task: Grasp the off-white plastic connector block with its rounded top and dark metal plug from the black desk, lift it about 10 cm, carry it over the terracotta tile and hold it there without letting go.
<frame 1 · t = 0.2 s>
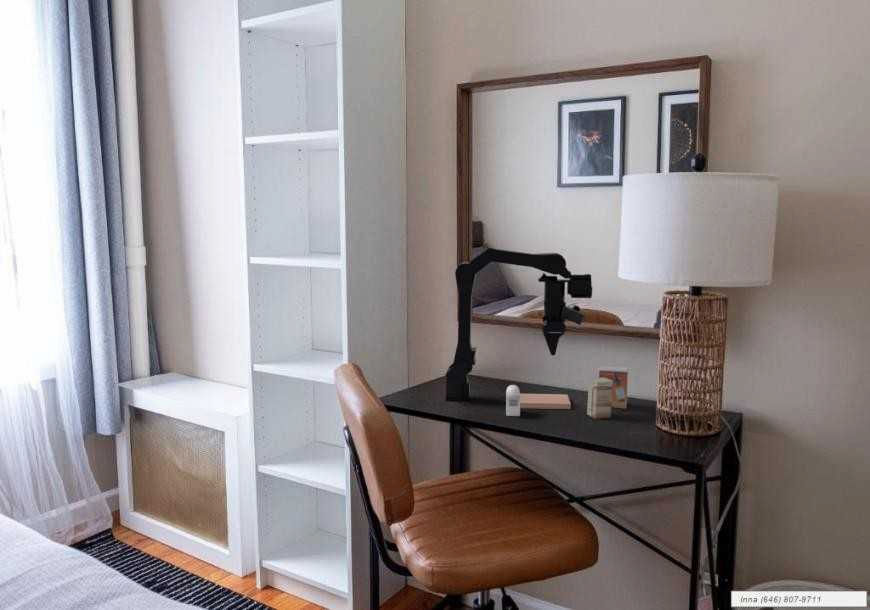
hand: (552, 351, 205), 14 cm above the table, fingers open, 9 cm apart
connector: (512, 413, 195), on the table
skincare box: (599, 416, 193), on the table
terracotta tile: (540, 403, 205), on the table
small box: (611, 405, 203), on the table
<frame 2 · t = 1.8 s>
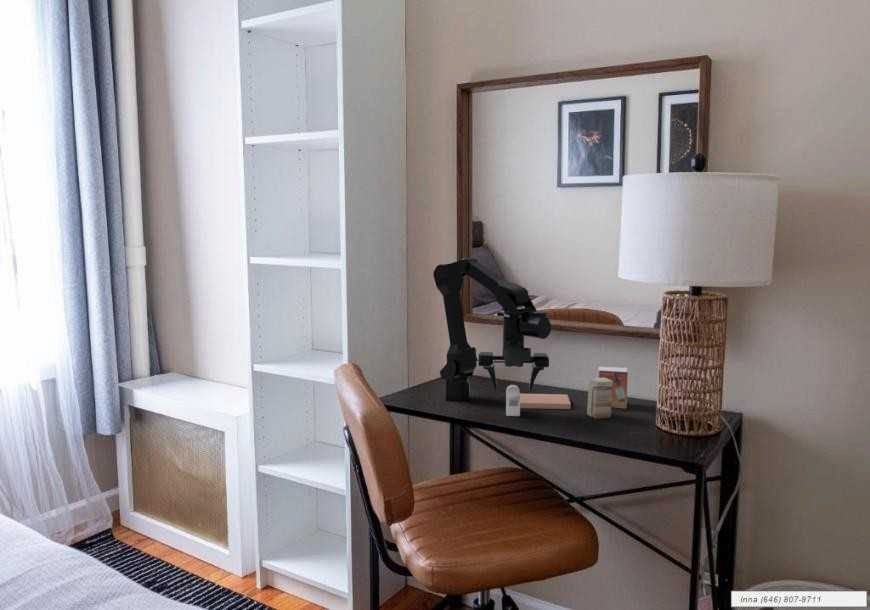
hand: (512, 390, 195), 6 cm above the table, fingers open, 9 cm apart
nothing on the table moved.
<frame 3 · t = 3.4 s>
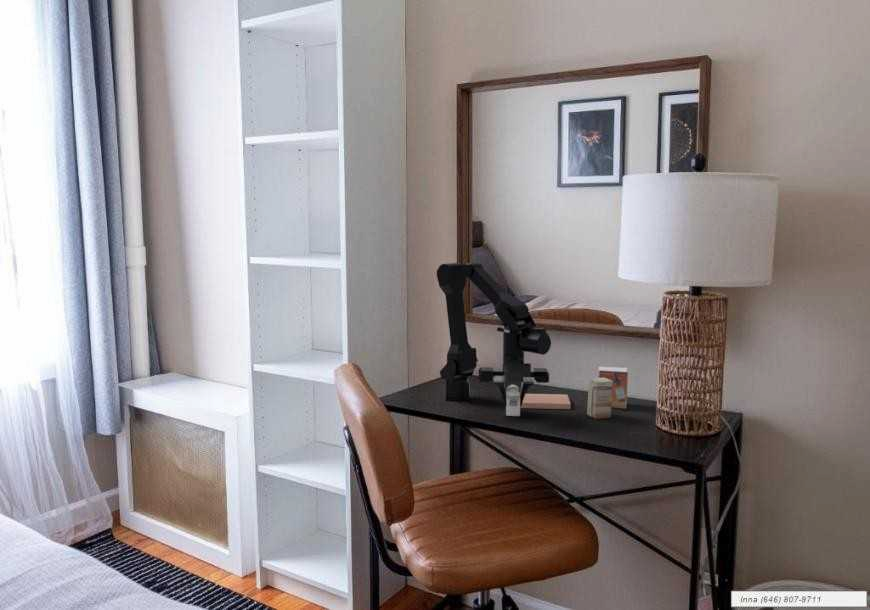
hand: (513, 405, 195), 2 cm above the table, fingers closed on connector, 4 cm apart
connector: (512, 413, 195), on the table, touching gripper
everything else where it was.
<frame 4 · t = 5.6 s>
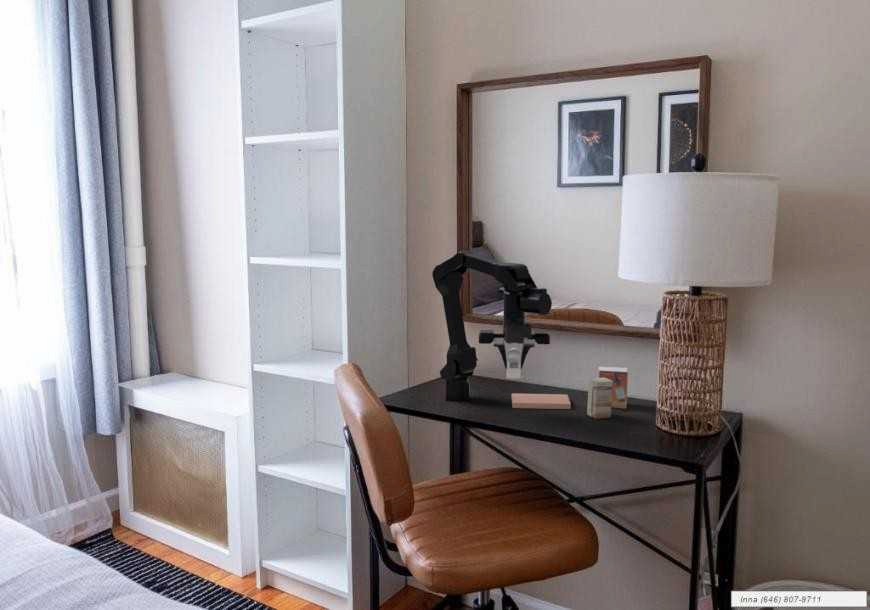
hand: (513, 368, 194), 12 cm above the table, fingers closed on connector, 4 cm apart
connector: (513, 376, 194), point 10 cm above the table, touching gripper
everything else where it was.
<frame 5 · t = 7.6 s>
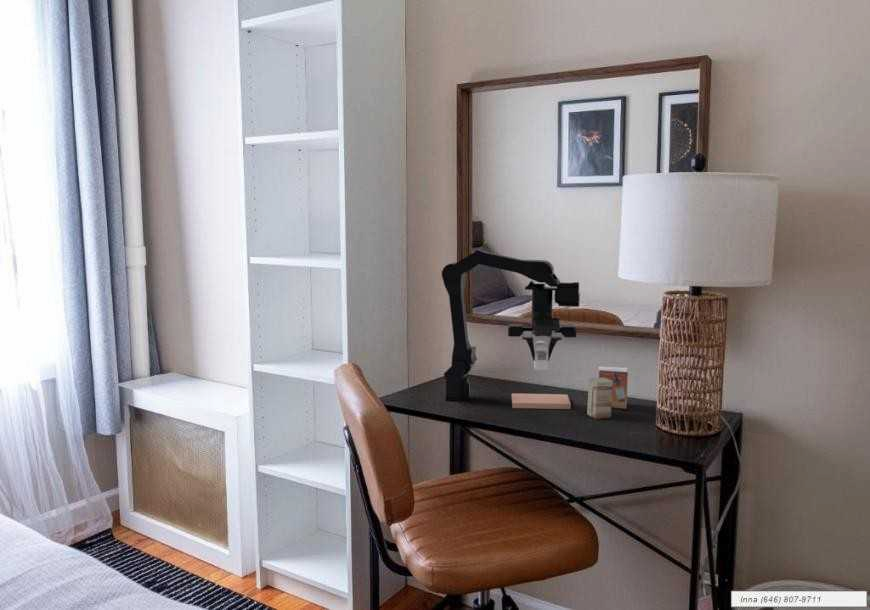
hand: (540, 360, 203), 12 cm above the table, fingers closed on connector, 4 cm apart
connector: (540, 367, 203), point 10 cm above the table, touching gripper
everything else where it was.
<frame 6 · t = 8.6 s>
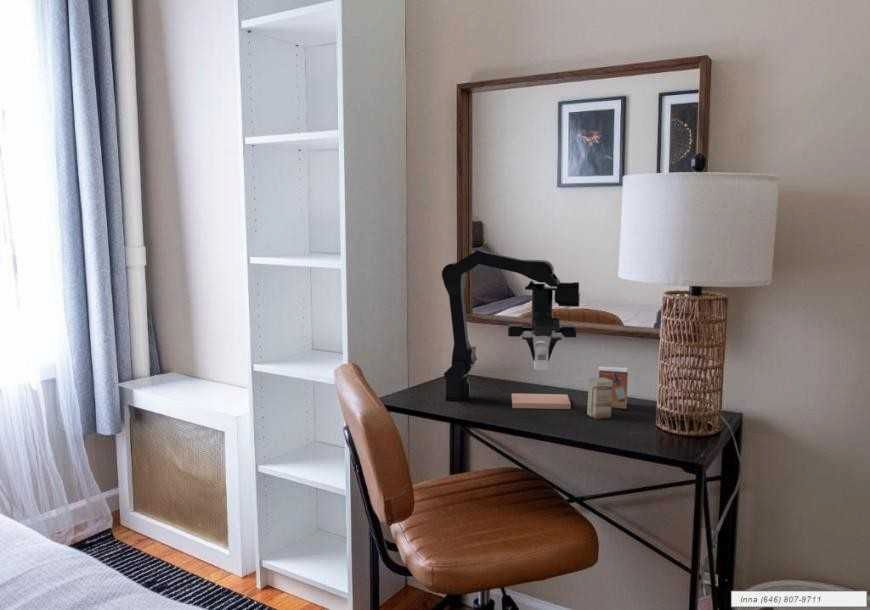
hand: (540, 360, 203), 12 cm above the table, fingers closed on connector, 4 cm apart
connector: (540, 367, 203), point 10 cm above the table, touching gripper
everything else where it was.
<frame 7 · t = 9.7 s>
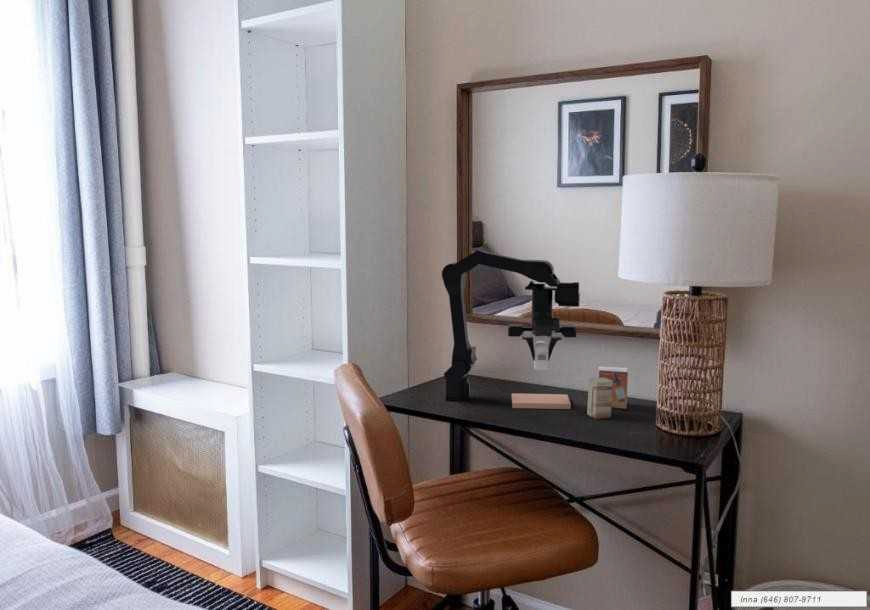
hand: (540, 360, 203), 12 cm above the table, fingers closed on connector, 4 cm apart
connector: (540, 367, 203), point 10 cm above the table, touching gripper
everything else where it was.
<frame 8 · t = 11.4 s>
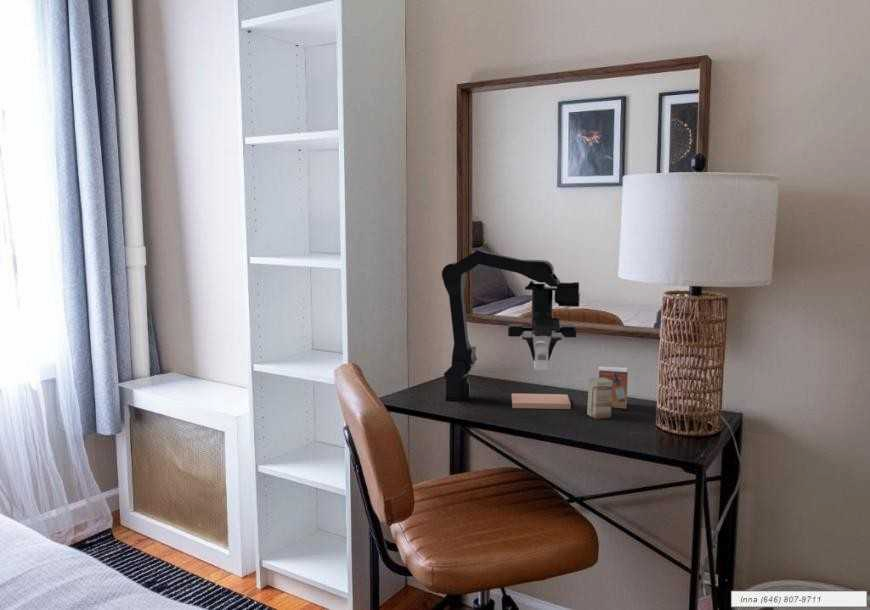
hand: (540, 360, 203), 12 cm above the table, fingers closed on connector, 4 cm apart
connector: (540, 367, 203), point 10 cm above the table, touching gripper
everything else where it was.
at the end: the gripper is holding connector; connector point 10.4 cm above the table; connector 0.1 cm from the terracotta tile (horizontally) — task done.
